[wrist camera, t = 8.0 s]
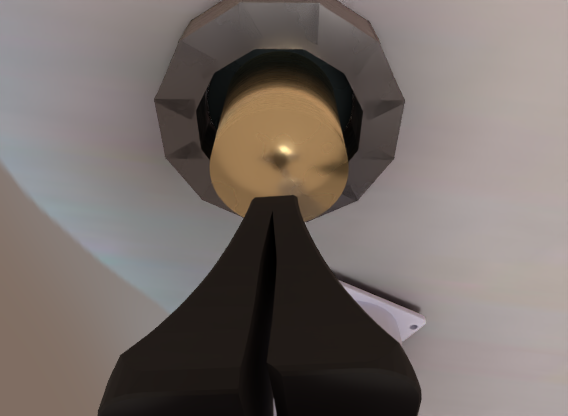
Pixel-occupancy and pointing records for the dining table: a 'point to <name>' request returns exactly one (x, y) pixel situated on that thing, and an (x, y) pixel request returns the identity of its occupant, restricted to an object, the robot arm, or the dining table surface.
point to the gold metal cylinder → (280, 136)
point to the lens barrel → (271, 38)
